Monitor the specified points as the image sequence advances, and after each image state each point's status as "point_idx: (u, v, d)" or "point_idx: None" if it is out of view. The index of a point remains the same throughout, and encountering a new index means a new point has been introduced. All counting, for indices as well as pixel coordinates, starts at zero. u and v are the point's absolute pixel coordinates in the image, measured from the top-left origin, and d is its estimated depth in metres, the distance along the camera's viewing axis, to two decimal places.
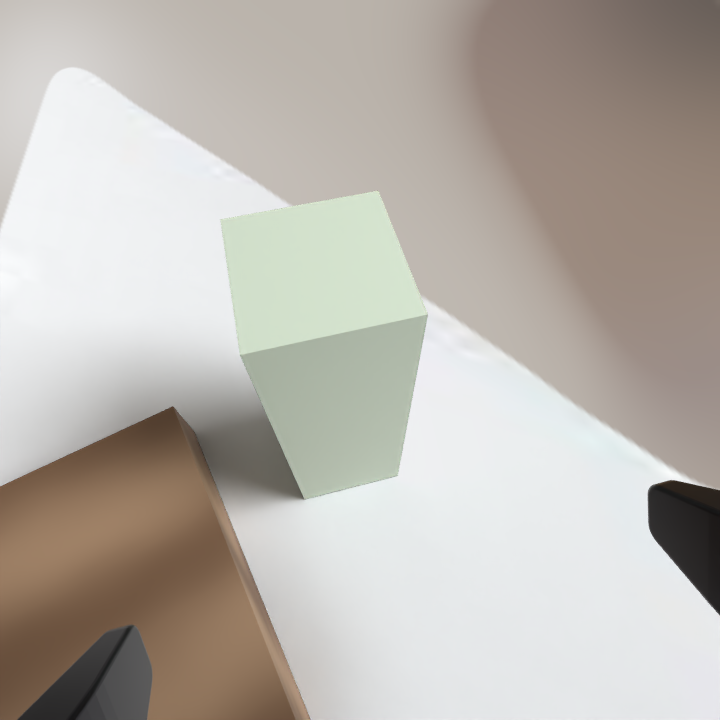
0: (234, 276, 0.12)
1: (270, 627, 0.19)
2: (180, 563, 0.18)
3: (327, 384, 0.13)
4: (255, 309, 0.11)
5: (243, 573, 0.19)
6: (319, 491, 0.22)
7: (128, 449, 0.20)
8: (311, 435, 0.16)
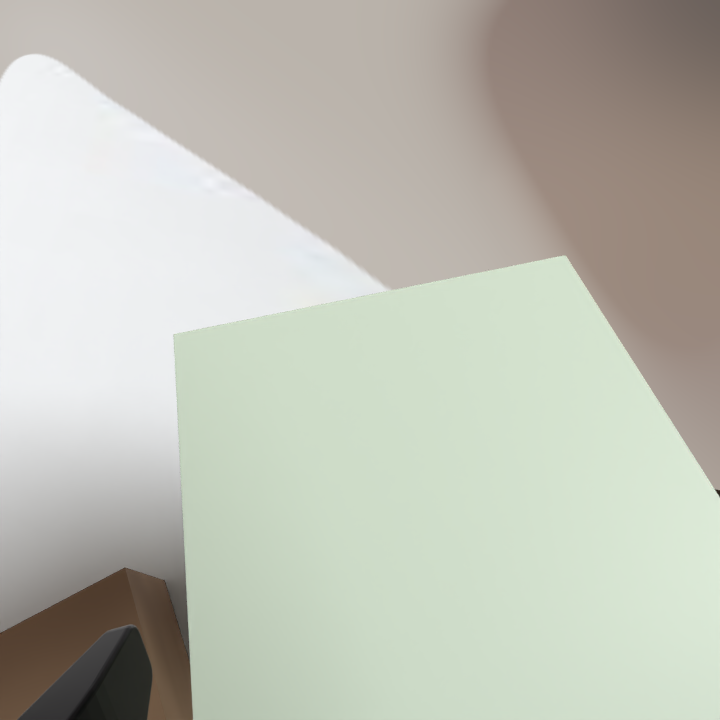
0: (201, 536, 0.04)
1: None
2: None
3: None
4: (265, 686, 0.03)
5: None
6: None
7: (45, 652, 0.12)
8: None
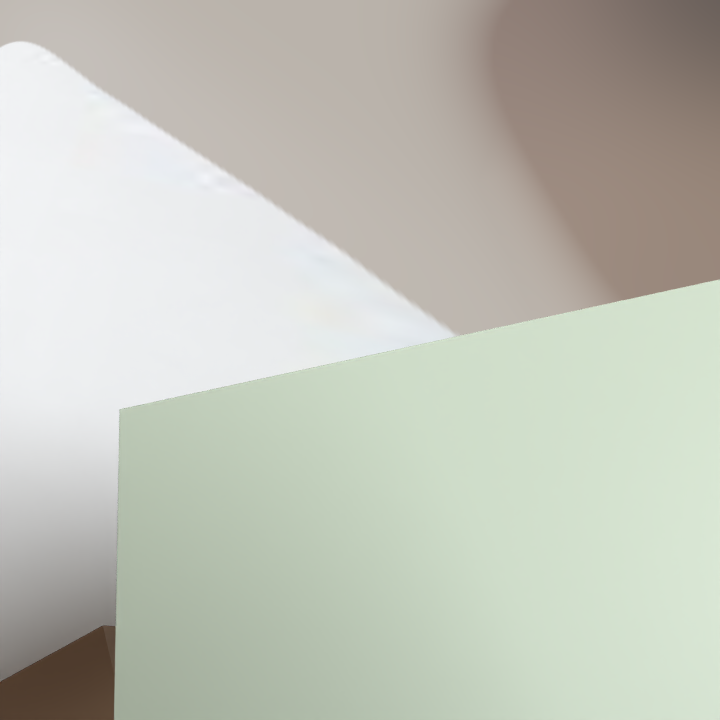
0: None
1: None
2: None
3: None
4: None
5: None
6: None
7: None
8: None
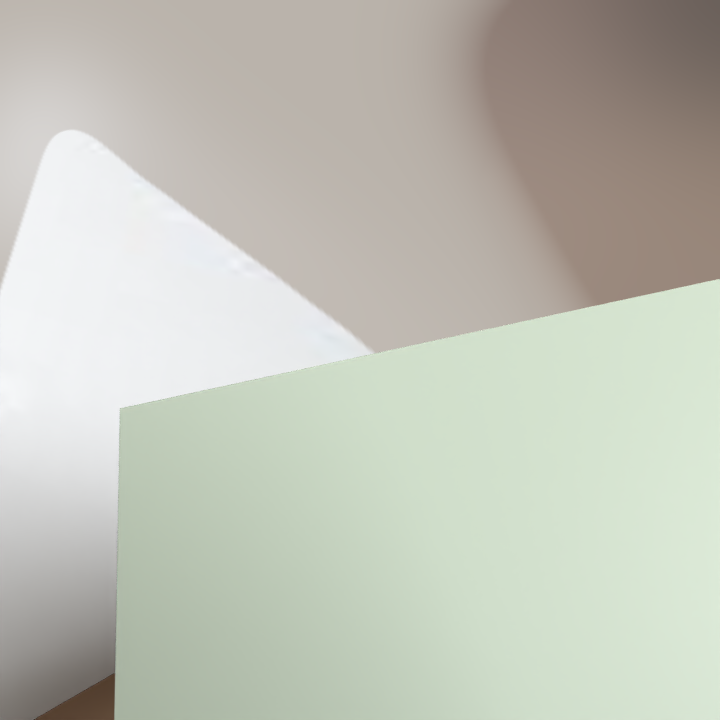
0: None
1: None
2: None
3: None
4: None
5: None
6: None
7: None
8: None
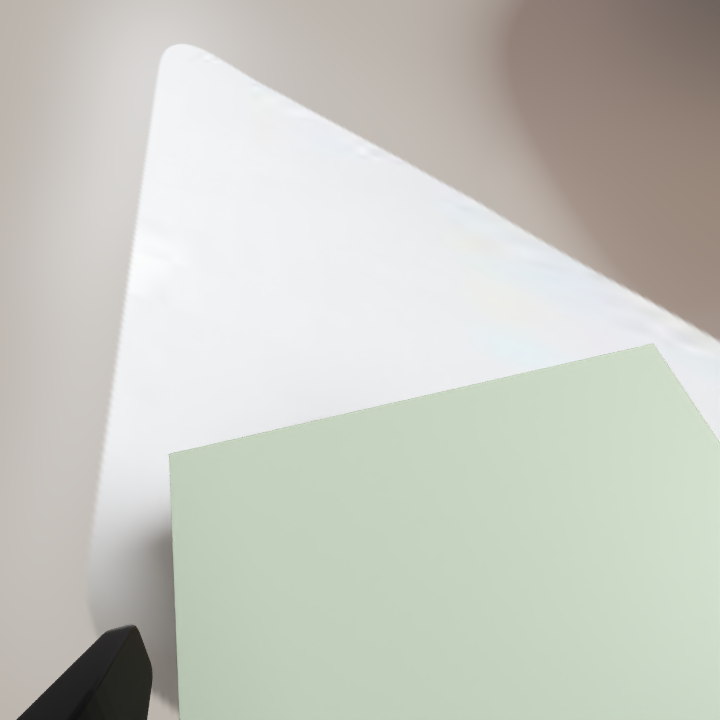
0: None
1: None
2: None
3: None
4: None
5: None
6: None
7: None
8: None
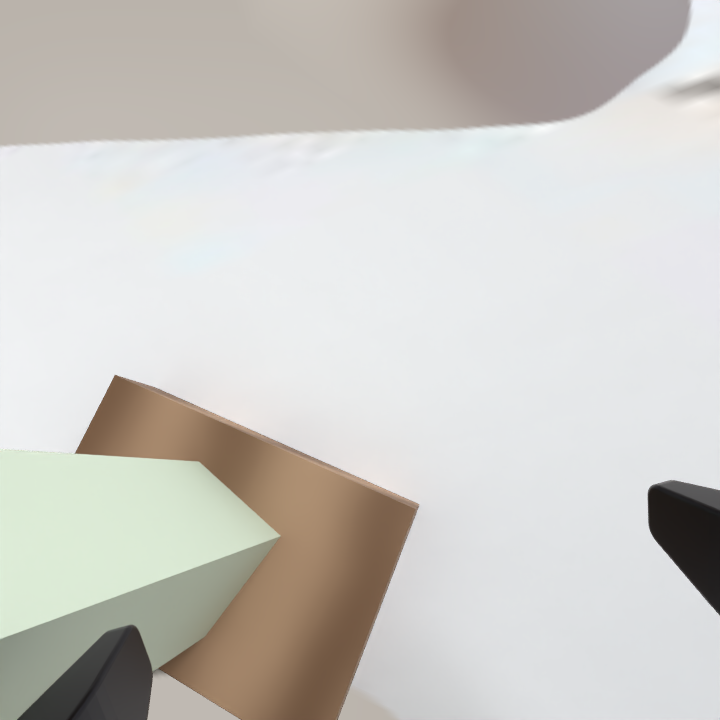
0: None
1: (328, 465, 0.21)
2: (221, 472, 0.19)
3: None
4: None
5: (276, 444, 0.20)
6: (209, 625, 0.17)
7: (108, 432, 0.20)
8: None
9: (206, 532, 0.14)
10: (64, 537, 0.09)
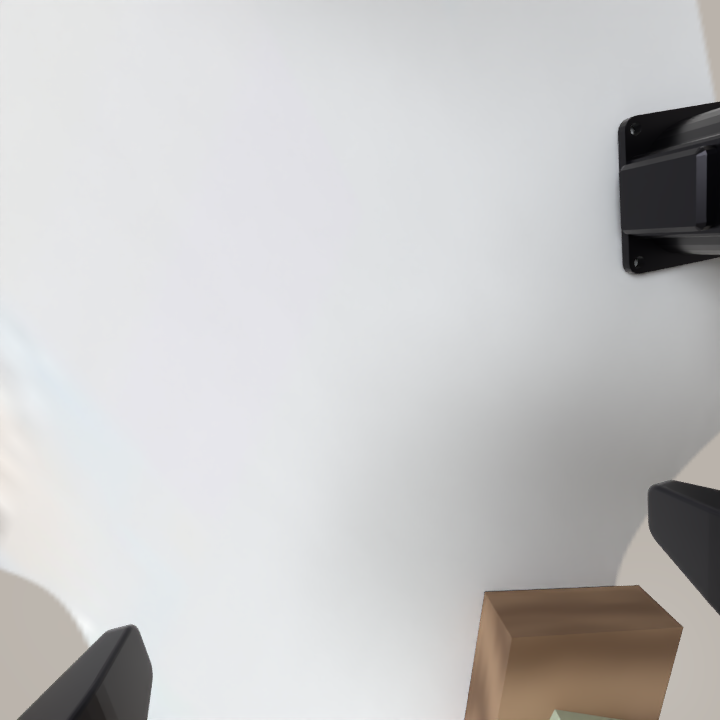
0: None
1: (478, 670, 0.25)
2: None
3: None
4: None
5: None
6: None
7: None
8: None
9: None
10: None
